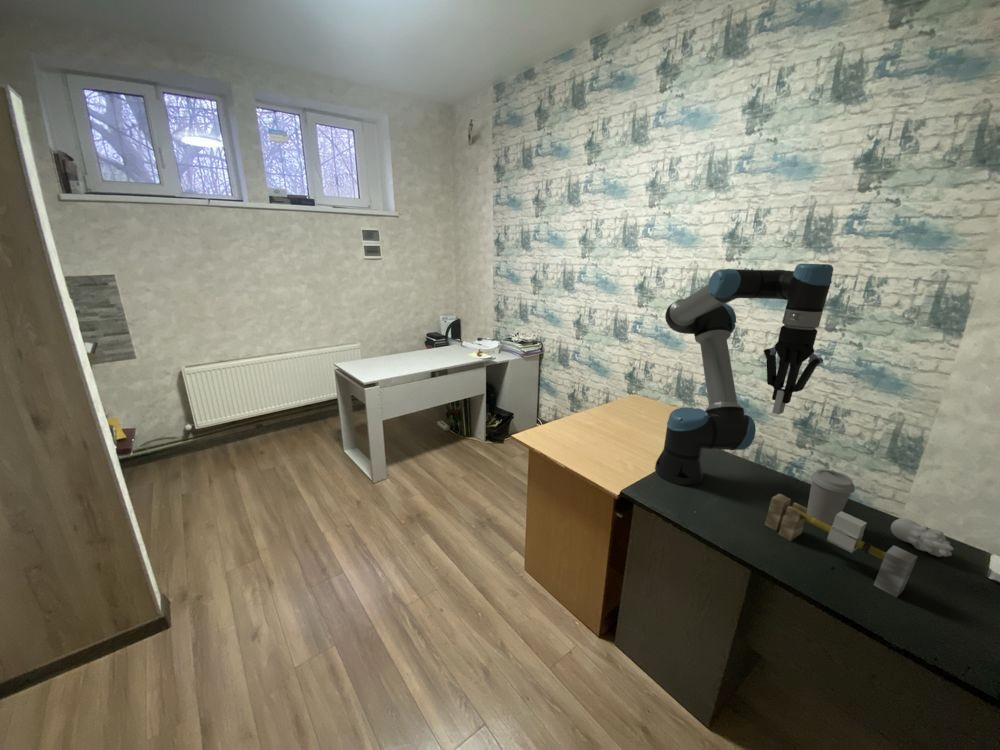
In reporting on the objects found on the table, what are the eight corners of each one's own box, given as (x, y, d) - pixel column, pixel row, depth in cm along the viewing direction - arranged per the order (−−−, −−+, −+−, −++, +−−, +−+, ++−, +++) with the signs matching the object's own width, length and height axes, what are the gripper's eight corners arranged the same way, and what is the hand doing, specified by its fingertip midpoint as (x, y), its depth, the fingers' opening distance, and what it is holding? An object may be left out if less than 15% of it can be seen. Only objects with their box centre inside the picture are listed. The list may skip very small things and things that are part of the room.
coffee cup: (849, 536, 106) (865, 488, 102) (810, 530, 108) (824, 484, 104) (828, 514, 115) (843, 469, 111) (792, 509, 117) (805, 465, 112)
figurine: (902, 520, 109) (964, 547, 98) (889, 539, 109) (949, 568, 98) (896, 509, 106) (959, 535, 95) (882, 528, 106) (944, 557, 95)
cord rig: (762, 525, 110) (770, 496, 107) (773, 519, 113) (781, 490, 110) (895, 599, 87) (909, 565, 84) (904, 588, 90) (918, 555, 87)
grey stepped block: (826, 540, 97) (834, 515, 95) (834, 534, 99) (842, 510, 97) (851, 553, 93) (860, 527, 91) (858, 547, 95) (867, 521, 93)
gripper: (764, 323, 102) (745, 407, 109) (823, 332, 91) (798, 424, 98) (778, 321, 105) (759, 402, 112) (837, 330, 95) (812, 418, 102)
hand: (777, 412), depth 105 cm, fingers closed
